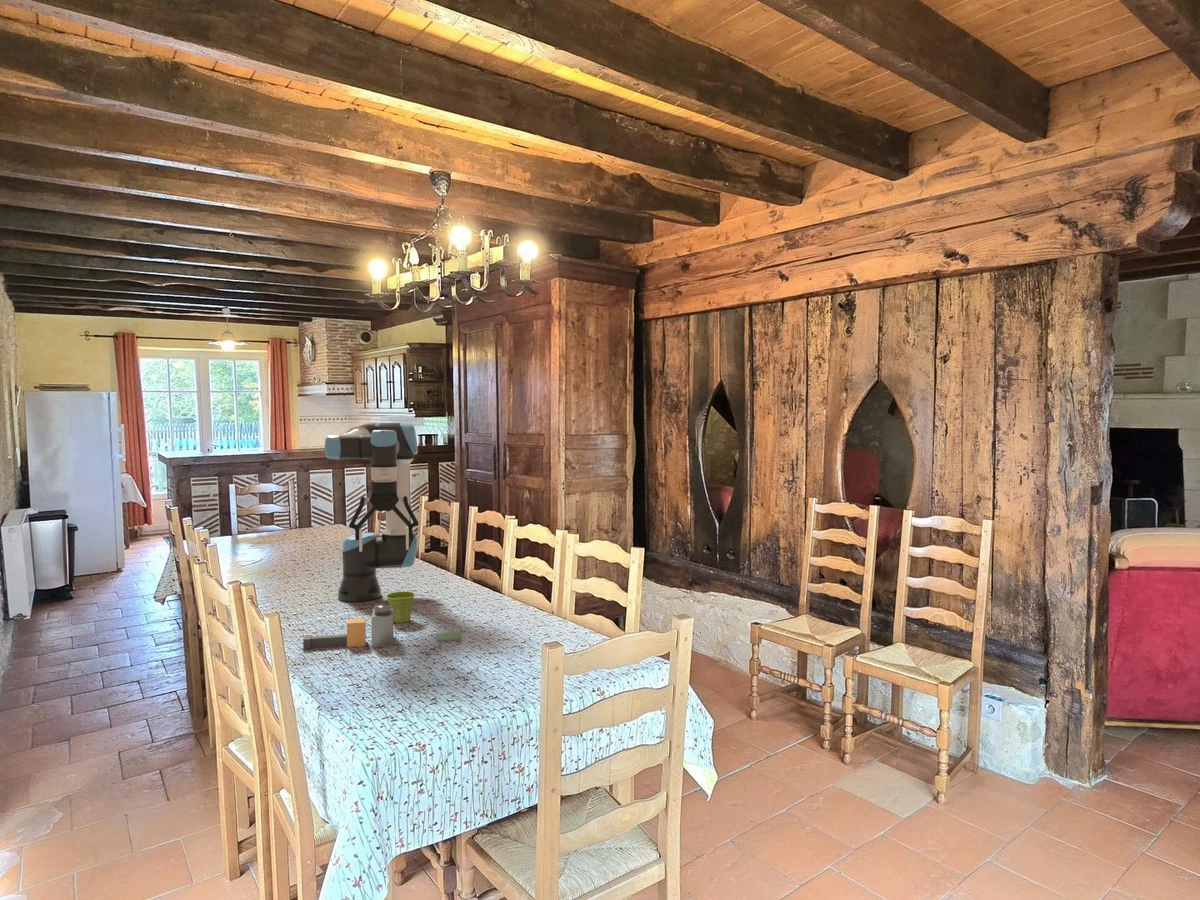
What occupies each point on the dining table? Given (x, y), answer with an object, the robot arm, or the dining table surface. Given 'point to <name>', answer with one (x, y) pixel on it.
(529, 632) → the dining table surface
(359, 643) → the plug
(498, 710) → the dining table surface
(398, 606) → the plant pot
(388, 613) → the housing
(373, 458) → the robot arm
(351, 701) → the dining table surface
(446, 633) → the mat
